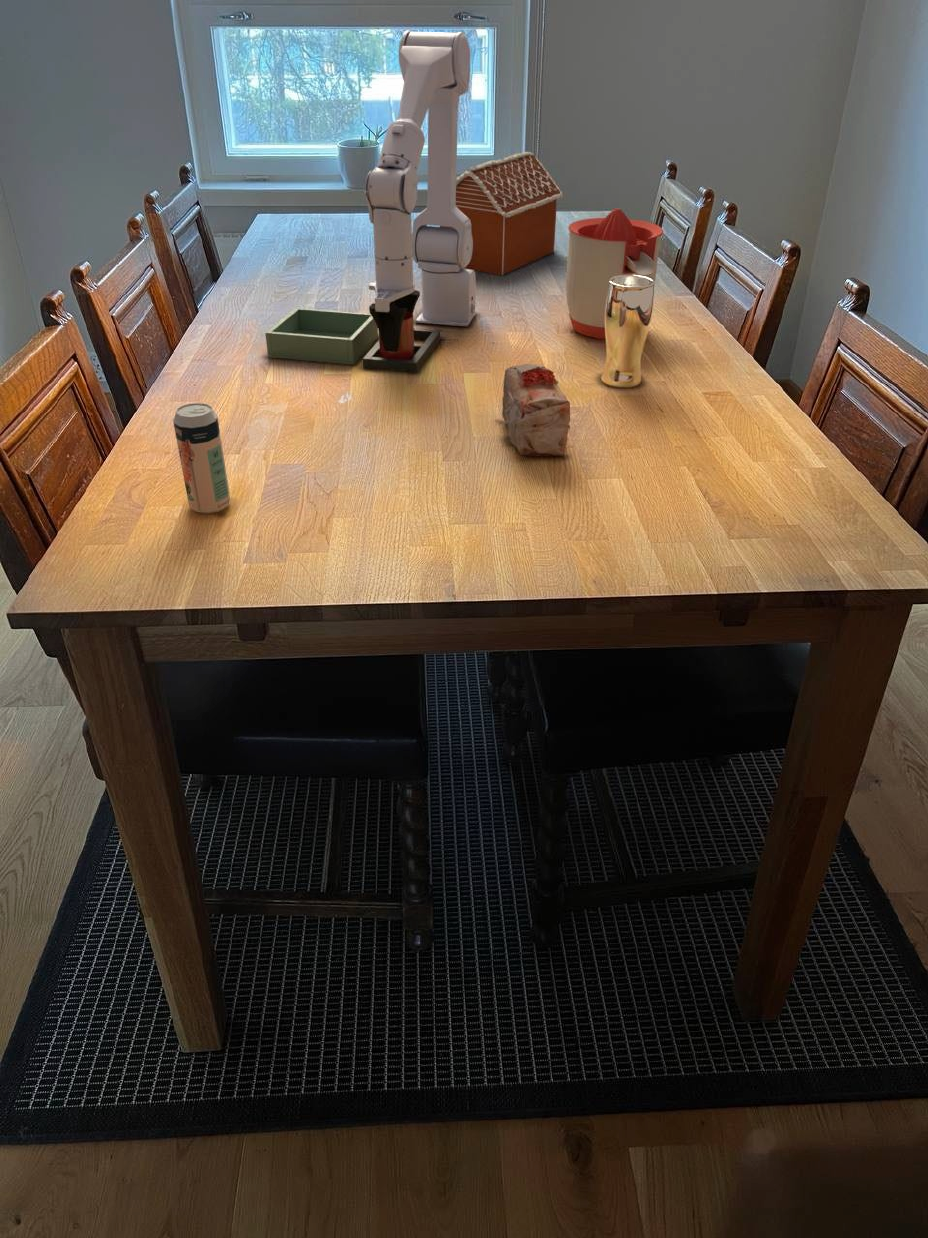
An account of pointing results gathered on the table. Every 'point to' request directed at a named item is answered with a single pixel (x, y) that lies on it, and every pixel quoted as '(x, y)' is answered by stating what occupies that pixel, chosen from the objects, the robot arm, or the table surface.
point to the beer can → (202, 457)
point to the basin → (322, 336)
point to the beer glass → (626, 328)
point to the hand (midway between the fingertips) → (396, 344)
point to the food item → (535, 411)
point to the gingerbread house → (508, 212)
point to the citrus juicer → (605, 264)
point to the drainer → (412, 365)
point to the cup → (402, 341)
